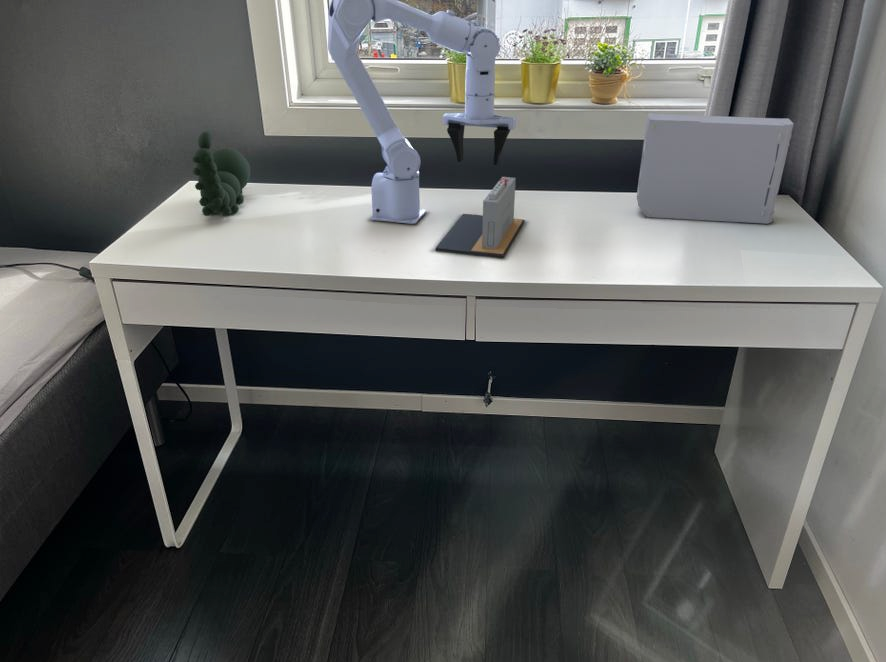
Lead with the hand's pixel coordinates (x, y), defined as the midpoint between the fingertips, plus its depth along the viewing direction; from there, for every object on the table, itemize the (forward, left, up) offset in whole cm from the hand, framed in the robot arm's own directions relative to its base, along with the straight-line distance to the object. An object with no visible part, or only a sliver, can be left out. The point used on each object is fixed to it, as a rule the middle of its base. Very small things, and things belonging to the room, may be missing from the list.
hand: (478, 162), depth 156 cm
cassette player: (+8, -14, -10) cm, 19 cm away
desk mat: (+5, -14, -10) cm, 18 cm away
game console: (+46, +10, -11) cm, 48 cm away
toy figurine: (-52, -13, -11) cm, 55 cm away
